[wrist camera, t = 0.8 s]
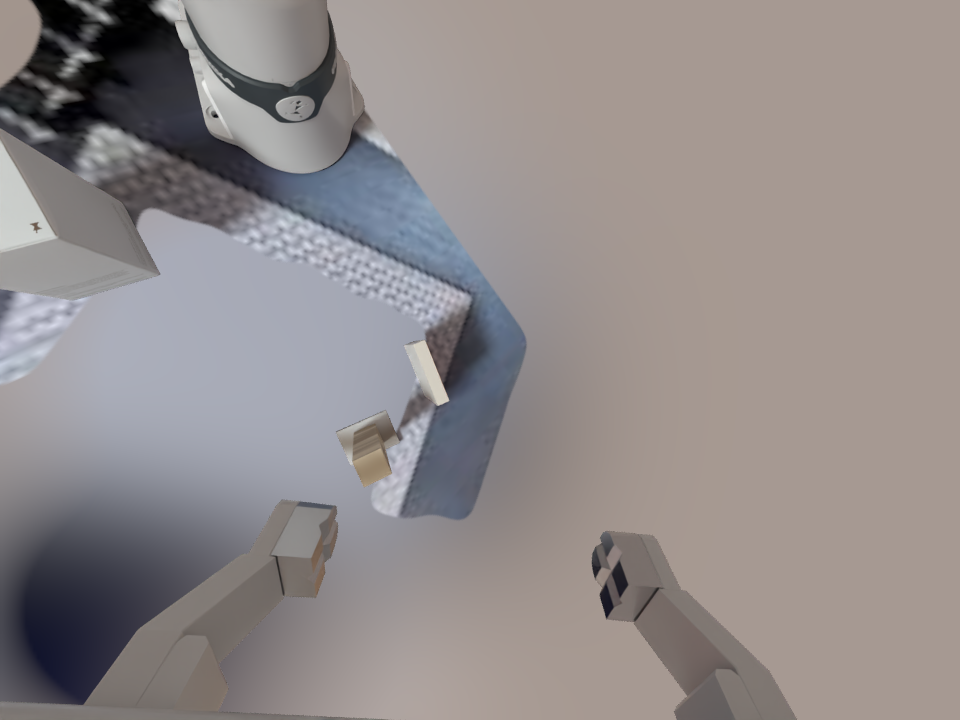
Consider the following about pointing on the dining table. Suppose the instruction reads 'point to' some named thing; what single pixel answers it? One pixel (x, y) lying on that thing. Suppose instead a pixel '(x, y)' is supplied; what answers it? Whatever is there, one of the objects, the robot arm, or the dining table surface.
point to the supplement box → (62, 230)
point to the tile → (426, 372)
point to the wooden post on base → (369, 446)
